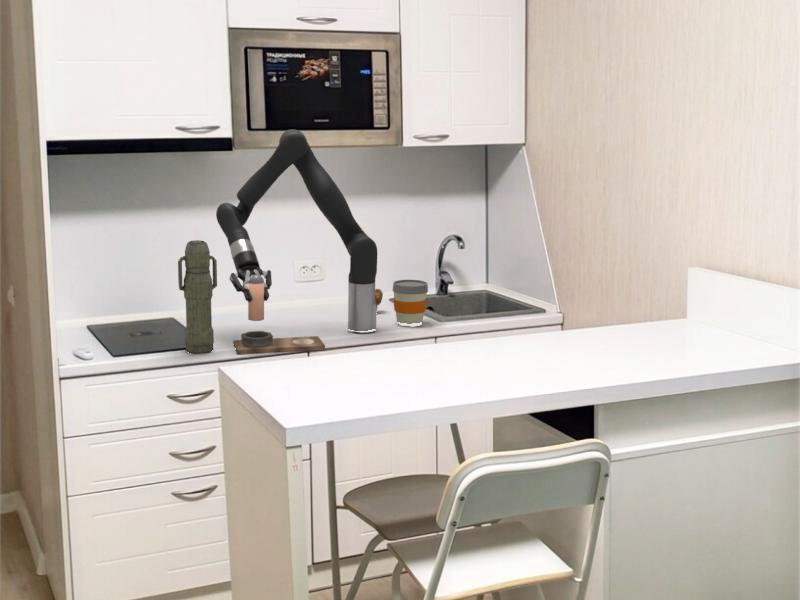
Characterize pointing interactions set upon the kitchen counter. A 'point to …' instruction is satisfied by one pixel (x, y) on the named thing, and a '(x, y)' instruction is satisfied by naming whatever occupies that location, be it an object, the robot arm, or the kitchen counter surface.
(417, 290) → the reusable coffee cup
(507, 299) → the kitchen counter surface
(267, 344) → the jig
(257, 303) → the round-topped orange cylinder
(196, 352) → the thermos
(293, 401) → the kitchen counter surface
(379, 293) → the lion figurine
